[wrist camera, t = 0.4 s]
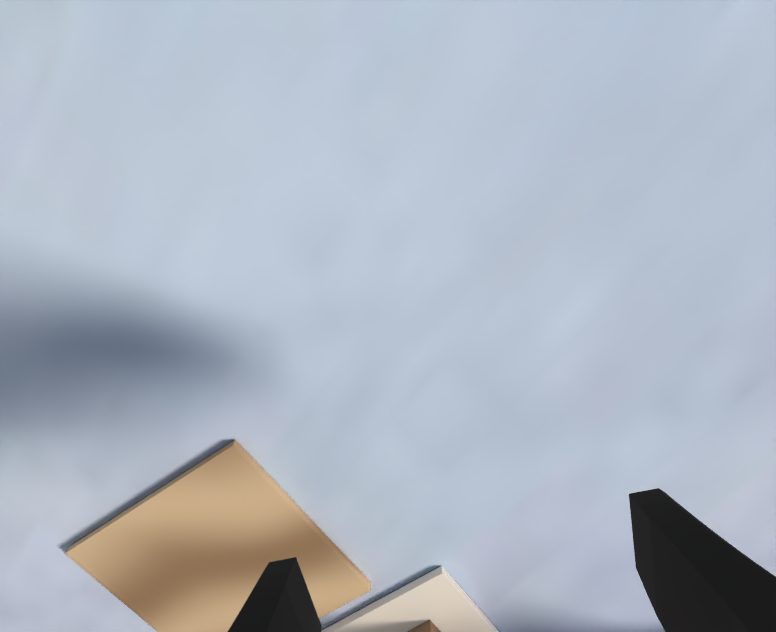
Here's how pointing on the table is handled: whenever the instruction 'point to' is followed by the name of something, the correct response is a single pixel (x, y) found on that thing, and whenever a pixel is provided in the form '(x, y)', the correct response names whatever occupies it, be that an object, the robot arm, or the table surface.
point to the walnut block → (425, 627)
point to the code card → (419, 609)
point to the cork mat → (212, 547)
